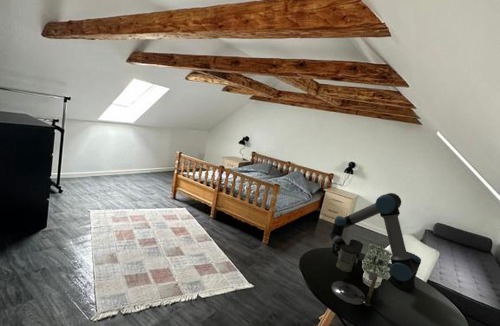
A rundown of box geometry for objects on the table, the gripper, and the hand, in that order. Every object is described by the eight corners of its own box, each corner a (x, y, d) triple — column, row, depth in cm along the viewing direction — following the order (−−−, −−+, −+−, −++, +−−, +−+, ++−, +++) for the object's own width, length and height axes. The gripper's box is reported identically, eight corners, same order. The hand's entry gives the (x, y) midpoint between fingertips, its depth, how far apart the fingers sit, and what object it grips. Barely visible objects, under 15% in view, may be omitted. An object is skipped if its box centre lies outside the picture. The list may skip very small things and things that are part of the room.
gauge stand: (368, 301, 166) (378, 273, 162) (371, 307, 162) (381, 278, 158) (360, 300, 166) (370, 271, 162) (363, 305, 162) (372, 276, 158)
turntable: (358, 285, 181) (358, 284, 181) (370, 307, 161) (370, 306, 161) (328, 279, 181) (328, 278, 181) (336, 300, 161) (336, 299, 161)
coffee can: (334, 261, 191) (339, 242, 188) (349, 264, 190) (354, 246, 187) (337, 269, 180) (342, 250, 178) (353, 273, 180) (359, 254, 177)
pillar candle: (343, 254, 218) (348, 237, 214) (354, 255, 219) (360, 238, 216) (348, 261, 209) (354, 243, 205) (360, 263, 210) (366, 245, 206)
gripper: (353, 250, 202) (364, 268, 180) (322, 244, 202) (329, 261, 180) (356, 241, 200) (367, 258, 178) (325, 235, 200) (332, 251, 179)
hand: (348, 260), depth 179 cm, fingers closed on coffee can, 10 cm apart
